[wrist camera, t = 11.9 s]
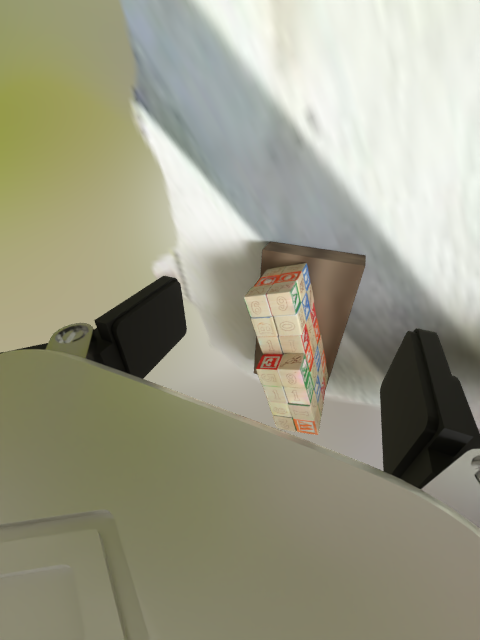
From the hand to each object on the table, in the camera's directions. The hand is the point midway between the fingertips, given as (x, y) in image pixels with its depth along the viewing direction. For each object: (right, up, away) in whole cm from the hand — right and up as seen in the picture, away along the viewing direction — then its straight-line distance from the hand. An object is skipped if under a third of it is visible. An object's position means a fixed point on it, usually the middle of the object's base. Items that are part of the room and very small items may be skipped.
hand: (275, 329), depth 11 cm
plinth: (+10, +1, +35) cm, 36 cm away
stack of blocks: (+8, -1, +31) cm, 32 cm away
